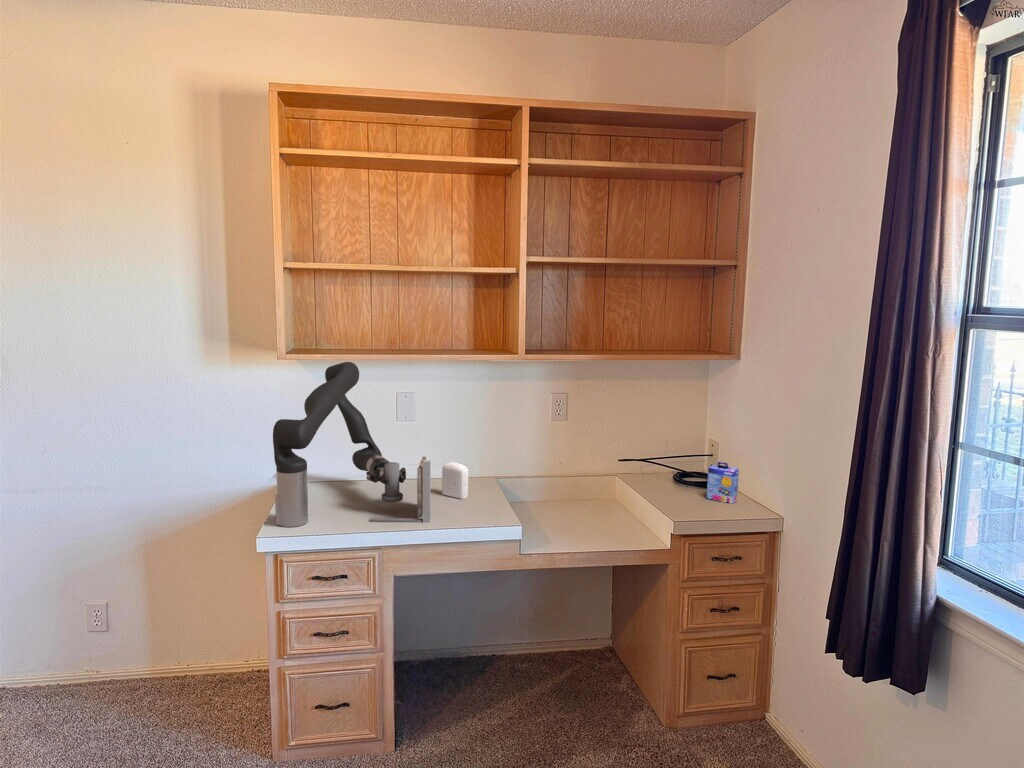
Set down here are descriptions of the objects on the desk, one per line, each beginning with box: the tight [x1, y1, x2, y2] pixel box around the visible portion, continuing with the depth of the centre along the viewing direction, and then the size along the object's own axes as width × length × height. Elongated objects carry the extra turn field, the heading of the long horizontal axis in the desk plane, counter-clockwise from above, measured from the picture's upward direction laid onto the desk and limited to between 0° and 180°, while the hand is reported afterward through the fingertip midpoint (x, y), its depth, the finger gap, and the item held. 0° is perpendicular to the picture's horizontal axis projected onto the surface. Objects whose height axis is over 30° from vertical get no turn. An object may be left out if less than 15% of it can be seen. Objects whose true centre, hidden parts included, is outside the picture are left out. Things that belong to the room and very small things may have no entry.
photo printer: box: [441, 461, 469, 500], centre depth 253 cm, size 10×4×12 cm, turn 56°
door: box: [416, 456, 432, 518], centre depth 232 cm, size 17×3×16 cm, turn 2°
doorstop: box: [381, 461, 404, 503], centre depth 232 cm, size 7×7×12 cm
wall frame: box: [369, 459, 432, 523], centre depth 224 cm, size 19×2×20 cm, turn 92°
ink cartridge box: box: [706, 461, 740, 504], centre depth 254 cm, size 10×6×14 cm, turn 56°
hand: (394, 480), depth 230 cm, fingers closed on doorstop, 4 cm apart
